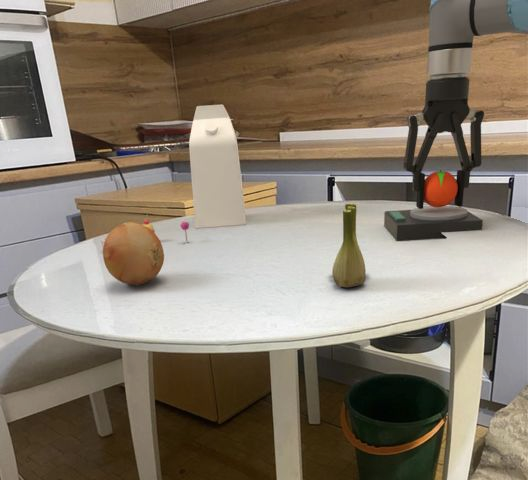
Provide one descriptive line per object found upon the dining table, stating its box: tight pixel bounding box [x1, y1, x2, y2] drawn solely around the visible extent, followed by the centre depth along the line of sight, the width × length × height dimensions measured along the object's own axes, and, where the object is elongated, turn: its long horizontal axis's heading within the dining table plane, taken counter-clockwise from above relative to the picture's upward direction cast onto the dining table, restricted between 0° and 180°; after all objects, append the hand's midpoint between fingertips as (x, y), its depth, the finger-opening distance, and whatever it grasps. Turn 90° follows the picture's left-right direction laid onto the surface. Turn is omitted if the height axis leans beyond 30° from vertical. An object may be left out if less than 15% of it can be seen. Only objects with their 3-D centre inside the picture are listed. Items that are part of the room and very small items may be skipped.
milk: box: [188, 104, 247, 229], centre depth 125 cm, size 12×12×26 cm
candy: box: [100, 213, 190, 248], centre depth 112 cm, size 18×8×6 cm, turn 109°
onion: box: [102, 221, 165, 286], centre depth 87 cm, size 10×10×10 cm
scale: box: [383, 205, 484, 242], centre depth 108 cm, size 16×14×4 cm
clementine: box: [424, 169, 458, 207], centre depth 105 cm, size 8×7×7 cm
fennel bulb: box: [331, 203, 367, 288], centre depth 78 cm, size 6×5×12 cm
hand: (438, 206), depth 106 cm, fingers closed on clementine, 7 cm apart
